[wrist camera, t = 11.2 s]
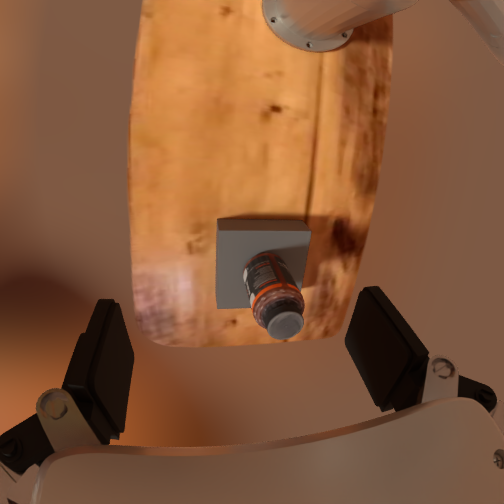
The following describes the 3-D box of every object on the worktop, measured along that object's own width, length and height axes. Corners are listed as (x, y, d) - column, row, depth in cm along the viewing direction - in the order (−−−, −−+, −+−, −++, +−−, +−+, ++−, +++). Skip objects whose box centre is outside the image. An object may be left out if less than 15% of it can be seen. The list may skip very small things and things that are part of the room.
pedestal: (217, 219, 39) (218, 230, 36) (302, 220, 42) (311, 231, 38) (215, 292, 45) (217, 308, 41) (290, 290, 47) (297, 305, 43)
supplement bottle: (233, 276, 39) (245, 335, 29) (260, 242, 38) (282, 294, 28) (267, 295, 42) (287, 352, 32) (294, 264, 40) (323, 317, 30)
